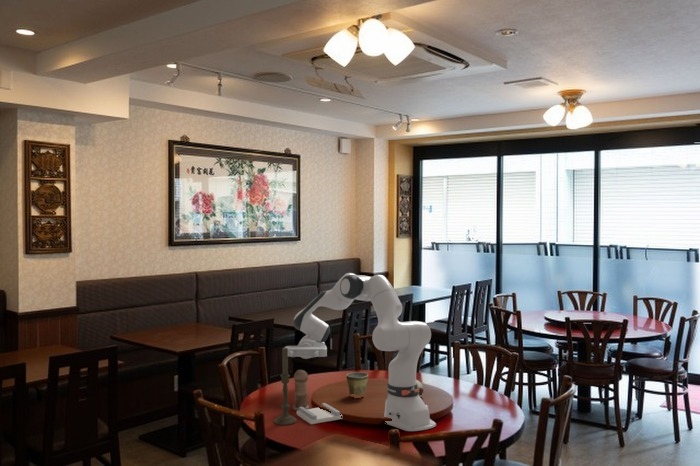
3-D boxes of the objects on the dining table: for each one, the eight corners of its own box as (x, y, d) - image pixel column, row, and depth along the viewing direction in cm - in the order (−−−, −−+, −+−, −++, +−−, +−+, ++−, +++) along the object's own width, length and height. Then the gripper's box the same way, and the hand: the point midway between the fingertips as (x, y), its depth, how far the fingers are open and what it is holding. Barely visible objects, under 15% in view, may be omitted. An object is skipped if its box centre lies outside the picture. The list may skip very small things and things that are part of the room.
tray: (342, 418, 244) (342, 411, 244) (310, 424, 238) (310, 416, 238) (327, 409, 257) (327, 402, 257) (296, 414, 250) (296, 407, 250)
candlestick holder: (297, 417, 246) (297, 344, 246) (296, 425, 237) (295, 348, 236) (275, 418, 246) (274, 344, 245) (272, 425, 236) (272, 348, 236)
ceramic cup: (368, 399, 271) (368, 377, 271) (346, 399, 271) (346, 377, 271) (368, 391, 284) (368, 370, 284) (346, 391, 284) (346, 370, 284)
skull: (394, 392, 279) (406, 374, 282) (408, 405, 282) (421, 387, 285) (406, 398, 268) (419, 379, 271) (421, 411, 271) (434, 393, 274)
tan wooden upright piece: (311, 409, 257) (311, 370, 257) (296, 411, 254) (296, 372, 254) (305, 405, 263) (304, 367, 263) (290, 407, 260) (290, 369, 260)
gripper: (284, 341, 284) (280, 347, 270) (328, 342, 283) (325, 348, 269) (284, 355, 284) (280, 362, 270) (328, 355, 283) (325, 362, 269)
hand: (303, 355), depth 269 cm, fingers open, 8 cm apart
